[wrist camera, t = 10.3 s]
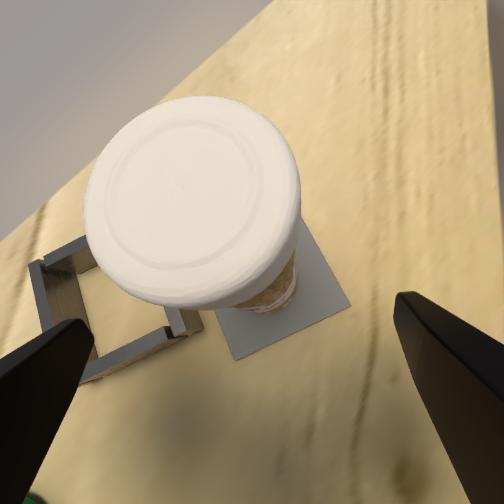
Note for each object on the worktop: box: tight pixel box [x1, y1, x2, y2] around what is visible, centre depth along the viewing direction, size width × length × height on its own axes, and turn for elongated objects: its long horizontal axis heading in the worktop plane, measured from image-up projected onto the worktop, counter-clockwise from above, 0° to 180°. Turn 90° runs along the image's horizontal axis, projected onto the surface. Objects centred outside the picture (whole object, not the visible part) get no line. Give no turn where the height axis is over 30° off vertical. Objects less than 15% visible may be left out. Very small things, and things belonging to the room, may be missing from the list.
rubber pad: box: [214, 217, 351, 361], centre depth 18 cm, size 8×8×1 cm
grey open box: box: [28, 235, 204, 387], centre depth 18 cm, size 9×9×3 cm
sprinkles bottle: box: [83, 96, 301, 315], centre depth 12 cm, size 5×5×14 cm
